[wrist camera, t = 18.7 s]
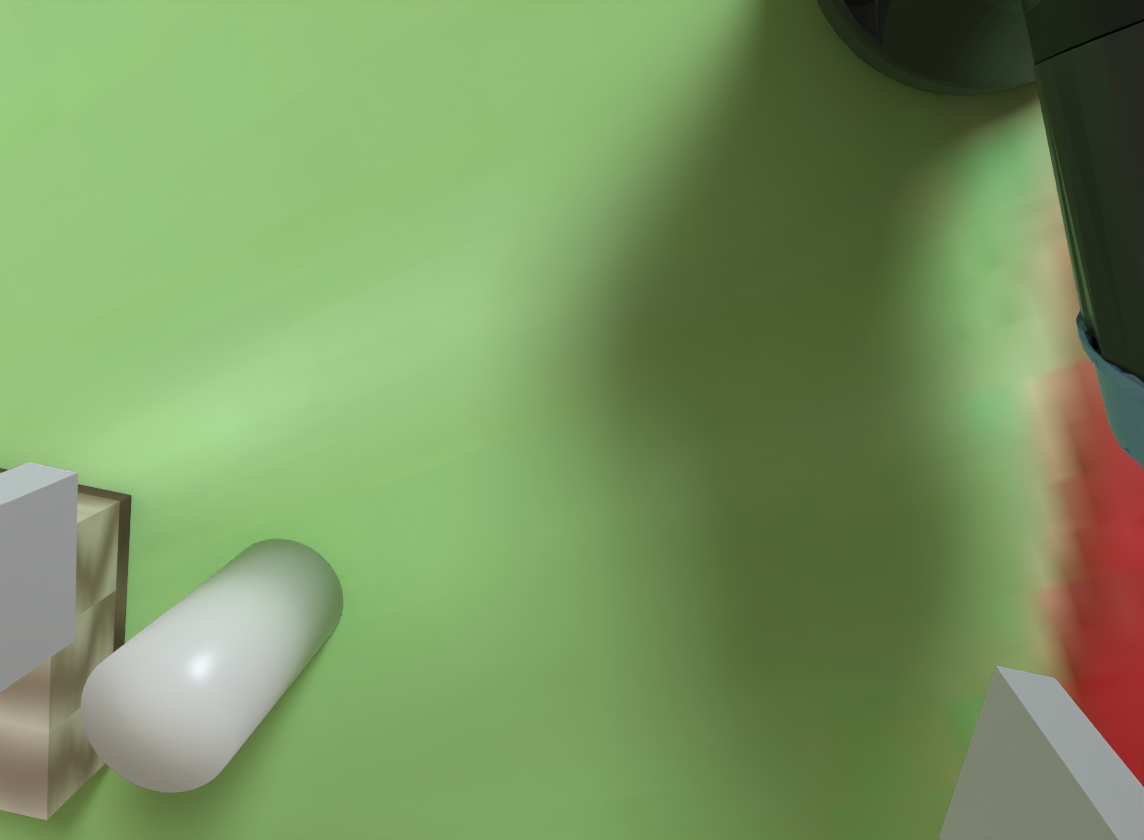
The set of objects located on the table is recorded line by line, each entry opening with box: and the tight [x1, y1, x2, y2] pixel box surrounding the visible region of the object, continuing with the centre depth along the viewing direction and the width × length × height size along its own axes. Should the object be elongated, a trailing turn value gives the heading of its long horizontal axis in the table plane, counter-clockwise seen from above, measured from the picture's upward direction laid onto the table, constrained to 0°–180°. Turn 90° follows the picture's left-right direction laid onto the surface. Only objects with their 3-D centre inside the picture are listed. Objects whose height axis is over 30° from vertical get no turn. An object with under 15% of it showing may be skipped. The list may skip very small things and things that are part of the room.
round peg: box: [81, 539, 343, 793], centre depth 40 cm, size 7×7×12 cm
